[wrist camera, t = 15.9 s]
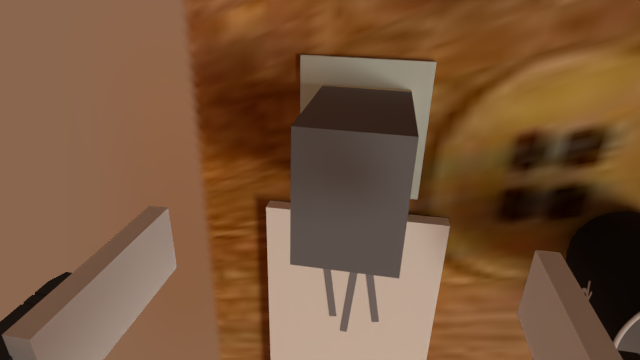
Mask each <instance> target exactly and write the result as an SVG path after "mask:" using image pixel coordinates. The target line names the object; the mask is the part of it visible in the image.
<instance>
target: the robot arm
mask: <svg viewBox="0 0 640 360" xmlns="http://www.w3.org/2000/svg"><path fill="white" fill-rule="evenodd" d="M176 268H177V266H176V259H175V252H174V245H173V238H172V231H171V224H170V217H169V211H168V208H165V207H155V206H149V207H147V208H146V209H145V210H144V211H143V212H142V213H141V214H139V215H138V216H137V217H136V218H135V219H134V220H133V221H131V222H130V223H129V224H128V225H127V226H126V227H125V228H123V229H122V230H121V231H120V232H119V233H118V234H117V235H115V236H114V237H113V238H112V239H111V240H110V241H109V242H108V243H106V244H105V245H104V246H103V247H102V248H101V249H100V250H98V251H97V252H96V253H95V254H94V255H93V256H92V257H90V258H89V259H88V260H87V261H86V262H85V263H83V264H82V265H81V266H80V267H79V268H78V269H77V270H75V271H74V272H73V273H68V272H65V273H64V274H62V275H60V276H58V277H56V278H54V279H52V280H50V281H48V282H47V283H46V284H45V285H44V286H42V287H41V288H40V289H39V290H38V291H36V292H35V295H32V296H31V297H29V298H28V299H27V300H26V301H25V302H24V304H23V305H20V306H19V307H17V308H16V309H15V310H14V311H13V312H11V313H10V314H9V315H8V316H7V317H6V318H4V319H3V320H2V321H1V322H0V360H103V359H104V358H105V357H106V355H107V354H108V353H109V352H110V350H111V349H112V348H113V347H114V345H115V344H116V343H117V342H118V340H119V339H120V338H121V337H122V335H123V334H124V333H125V332H126V330H127V329H128V328H129V327H130V325H131V324H132V323H133V322H134V320H135V319H136V318H137V317H138V315H139V314H140V313H141V311H142V310H143V309H144V308H145V306H146V305H147V304H148V303H149V302H150V300H151V299H152V298H153V297H154V295H155V294H156V293H157V292H158V290H159V289H160V288H161V286H162V285H163V284H164V283H165V281H166V280H167V279H168V278H169V276H170V275H171V274H172V273H173V271H174V270H175V269H176ZM517 315H518V318H519V321H520V323H521V326H522V329H523V332H524V335H525V338H526V341H527V344H528V347H529V349H530V352H531V355H532V358H533V360H640V354H638V353H635V352H628V351H621V350H617V349H616V347H615V345H614V343H613V342H612V340H611V338H610V337H609V335H608V333H607V332H606V330H605V328H604V326H603V325H602V323H601V321H600V320H599V318H598V316H597V314H596V313H595V311H594V309H593V308H592V306H591V304H590V303H589V301H588V299H587V297H586V296H585V294H584V292H583V291H582V289H581V287H580V286H579V284H578V282H577V280H576V279H575V277H574V275H573V274H572V272H571V270H570V268H569V267H568V265H567V263H566V262H565V260H564V258H563V257H562V255H561V253H560V252H551V251H542V250H535V253H534V257H533V260H532V264H531V267H530V271H529V274H528V278H527V281H526V285H525V288H524V292H523V295H522V298H521V302H520V305H519V309H518V312H517Z"/></svg>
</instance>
